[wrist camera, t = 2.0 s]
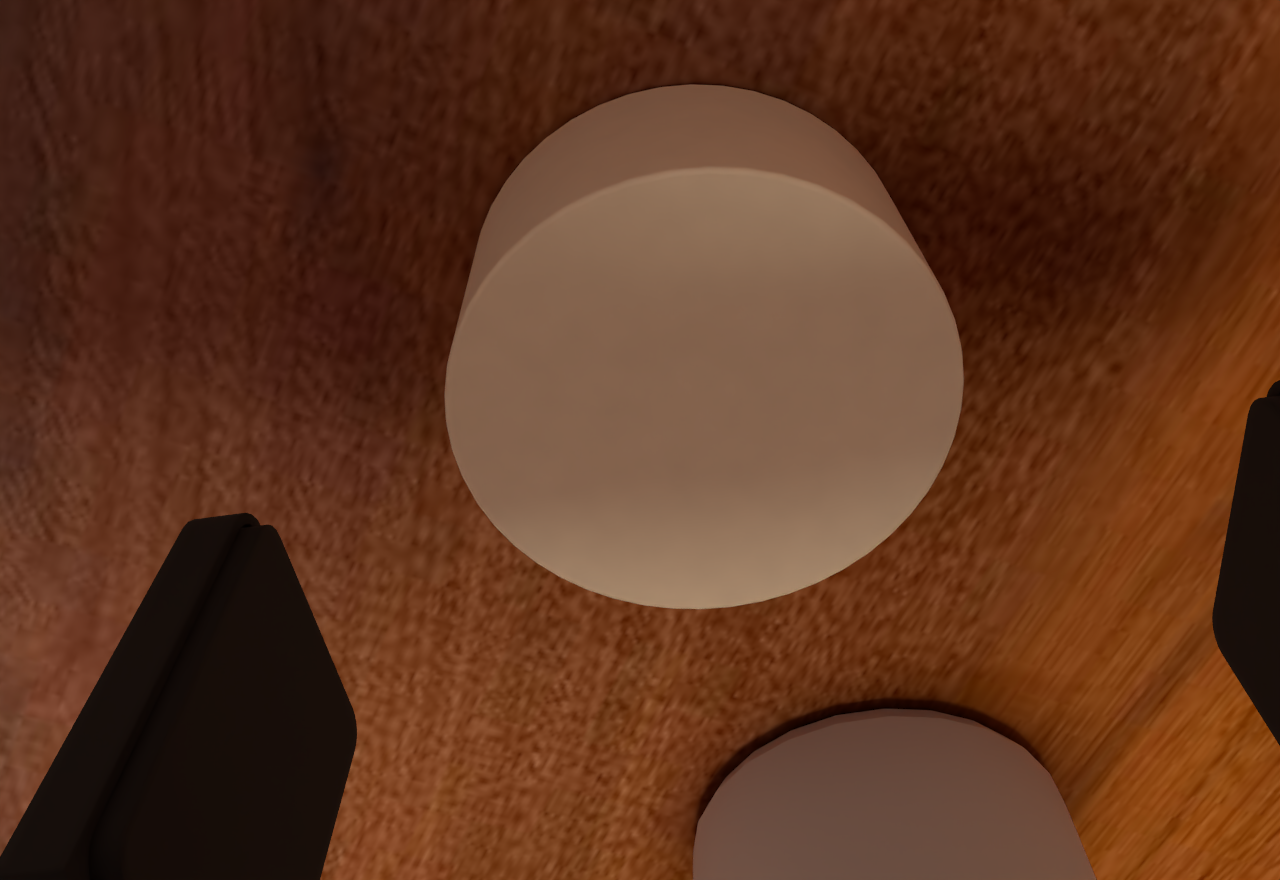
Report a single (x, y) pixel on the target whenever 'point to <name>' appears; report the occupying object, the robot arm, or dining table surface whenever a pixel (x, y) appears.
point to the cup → (889, 806)
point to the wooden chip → (699, 353)
